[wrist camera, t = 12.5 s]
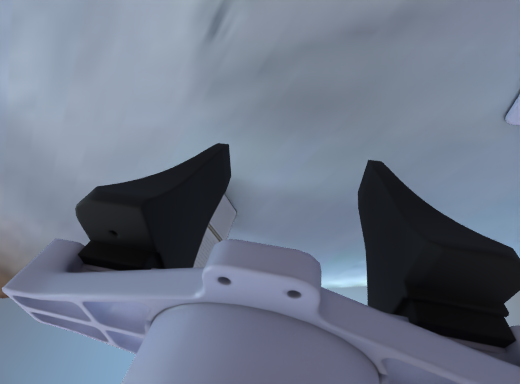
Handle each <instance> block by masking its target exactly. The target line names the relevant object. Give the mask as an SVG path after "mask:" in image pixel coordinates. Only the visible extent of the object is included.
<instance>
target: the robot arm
mask: <svg viewBox="0 0 520 384" xmlns="http://www.w3.org/2000/svg"><path fill="white" fill-rule="evenodd" d="M505 120H506V122H508V123H509V124H511V125H520V95H519V96H518V98H517V100H516V101H515V103H514V104H513V106H512V108H511V109H510V111H509V112H508V114H507V115H506V118H505ZM230 178H231V167H230V154H229V144H220V143H218V144H215V145H213V146H212V147H210V148H208V149H207V150H205V151H203V152H201V153H200V154H198V155H196V156H195V157H193V158H191V159H189V160H187V161H185V162H183V163H181V164H179V165H177V166H175V167H173V168H170V169H168V170H165V171H163V172H160V173H157V174H154V175H151V176H148V177H145V178H141V179H137V180H133V181H128V182H123V183H118V184H111V185H105V186H97V187H96V188H95V189H94V190H93V191H91V192H90V193H89V194H88V195H87V196H86V197H85V198H84V199H82V200H81V201H80V202H79V203H78V204H77V206H76V208H75V210H76V216H77V218H78V221H79V222H80V224H81V226H82V227H83V229H84V231H85V232H86V234H87V235H88V237H89V239H90V240H91V241H90V242H89V243H88V244H87V245H86V246H84V245H82V244H81V243H78V242H74V241H69V240H63V239H54V240H53V241H52V242H51V243H50V244H49V245H48V246H47V247H46V248H45V249H44V250H42V251H41V252H40V253H39V254H38V255H37V256H36V257H35V258H34V259H33V260H32V261H31V262H30V263H29V264H27V265H26V266H25V267H24V268H23V269H22V270H21V271H20V272H19V273H18V274H17V275H16V276H15V277H14V278H13V279H11V280H10V281H9V282H8V283H7V284H6V285H5V286H4V287H3V288H2V291H3V292H4V293H5V294H6V295H8V296H9V297H10V298H11V299H12V300H13V301H15V302H16V303H17V304H18V305H20V307H21V308H23V309H24V310H25V311H26V312H27V313H28V314H30V315H31V316H32V317H33V318H34V319H35V320H36V321H38V322H40V323H44V324H48V325H51V326H55V327H59V328H62V329H66V330H69V331H72V332H75V333H78V334H81V335H84V336H87V337H90V338H93V339H96V340H98V341H101V342H104V343H106V344H109V345H112V346H115V347H118V348H120V349H123V350H126V351H129V352H131V353H134V354H136V356H135V358H134V360H133V362H132V364H131V365H130V367H129V369H128V371H127V373H126V375H125V377H124V379H123V381H122V383H121V384H520V326H511V327H509V325H508V323H507V322H506V320H505V318H504V317H507V316H508V315H509V312H508V310H507V308H506V307H505V305H504V303H505V302H506V301H508V300H509V299H510V298H511V297H512V296H514V295H515V294H516V293H517V292H518V291H520V258H519V257H518V255H517V254H516V252H515V251H514V249H513V248H511V247H509V246H506V245H504V244H502V243H499V242H497V241H495V240H492V239H490V238H487V237H485V236H483V235H481V234H479V233H477V232H475V231H473V230H471V229H469V228H467V227H465V226H463V225H461V224H459V223H457V222H456V221H454V220H452V219H451V218H449V217H447V216H445V215H444V214H442V213H441V212H439V211H438V210H436V209H435V208H433V207H432V206H430V205H429V204H428V203H426V202H425V201H423V200H422V199H421V198H420V197H418V196H417V195H416V194H415V193H414V192H413V191H411V190H410V189H409V188H408V187H407V186H406V185H405V184H404V183H403V182H402V181H401V180H400V179H399V178H398V177H397V176H396V175H395V174H394V173H393V172H392V171H391V170H390V169H389V168H388V167H387V166H386V165H385V164H384V163H383V162H381V161H373V160H368V163H367V166H366V169H365V172H364V175H363V178H362V181H361V184H360V188H359V191H358V209H359V215H360V221H361V226H362V231H363V237H364V242H365V249H366V263H367V288H368V289H367V290H368V306H367V305H364V304H362V303H359V302H357V301H355V300H352V299H350V298H347V297H345V296H342V295H340V294H337V293H335V292H332V291H330V290H327V289H325V288H323V287H321V267H320V263H319V262H318V261H317V260H316V259H315V258H314V257H313V256H311V255H310V254H308V253H305V252H302V251H299V250H296V249H290V248H284V247H278V246H272V245H266V244H261V243H255V242H249V241H243V240H237V239H236V240H222V241H220V242H218V243H216V244H215V245H214V246H213V249H212V251H211V253H210V256H209V258H208V260H207V262H206V265H205V267H200V268H193V266H194V263H195V260H196V257H197V254H198V251H199V248H200V245H201V243H202V240H203V237H204V235H205V232H206V229H207V227H208V224H209V222H210V220H211V218H212V216H213V214H214V212H215V211H216V209H217V207H218V205H219V203H220V201H221V199H222V197H223V195H224V193H225V191H226V189H227V186H228V184H229V181H230Z"/></svg>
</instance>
